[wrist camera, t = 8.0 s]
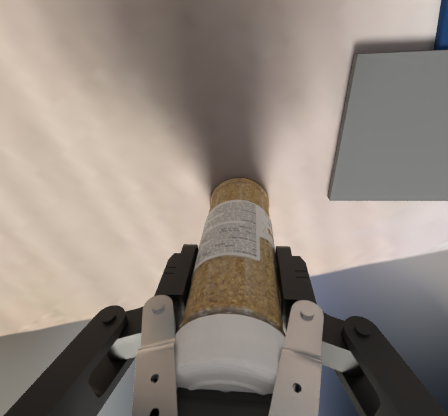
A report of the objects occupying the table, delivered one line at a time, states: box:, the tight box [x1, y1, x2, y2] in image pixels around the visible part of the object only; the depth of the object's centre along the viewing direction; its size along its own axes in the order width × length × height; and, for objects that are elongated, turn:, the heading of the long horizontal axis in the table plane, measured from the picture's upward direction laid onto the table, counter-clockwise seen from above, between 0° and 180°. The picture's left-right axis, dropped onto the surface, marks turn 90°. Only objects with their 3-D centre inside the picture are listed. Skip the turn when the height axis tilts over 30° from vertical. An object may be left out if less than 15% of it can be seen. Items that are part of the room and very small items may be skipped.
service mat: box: [328, 50, 448, 201], centre depth 16 cm, size 9×9×1 cm
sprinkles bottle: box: [175, 178, 297, 395], centre depth 14 cm, size 5×5×14 cm
